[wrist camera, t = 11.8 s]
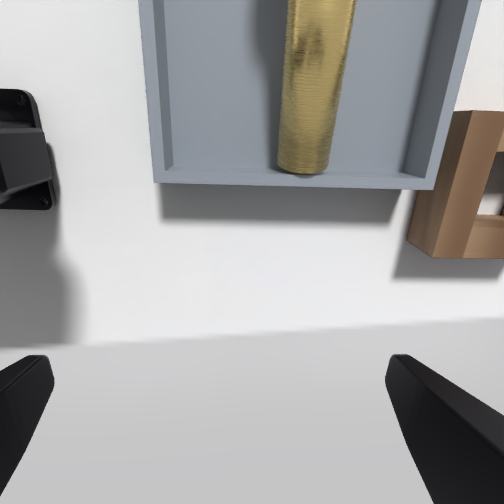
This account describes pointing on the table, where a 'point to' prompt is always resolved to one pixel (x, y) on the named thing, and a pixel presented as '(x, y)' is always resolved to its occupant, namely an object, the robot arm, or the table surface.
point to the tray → (270, 91)
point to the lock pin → (312, 81)
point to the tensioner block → (462, 192)
